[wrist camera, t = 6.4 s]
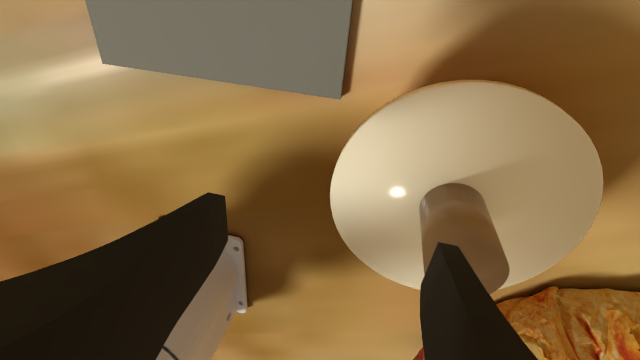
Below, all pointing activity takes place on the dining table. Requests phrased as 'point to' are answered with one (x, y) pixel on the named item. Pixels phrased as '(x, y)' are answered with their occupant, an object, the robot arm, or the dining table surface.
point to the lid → (466, 183)
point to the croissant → (576, 324)
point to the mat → (230, 40)
